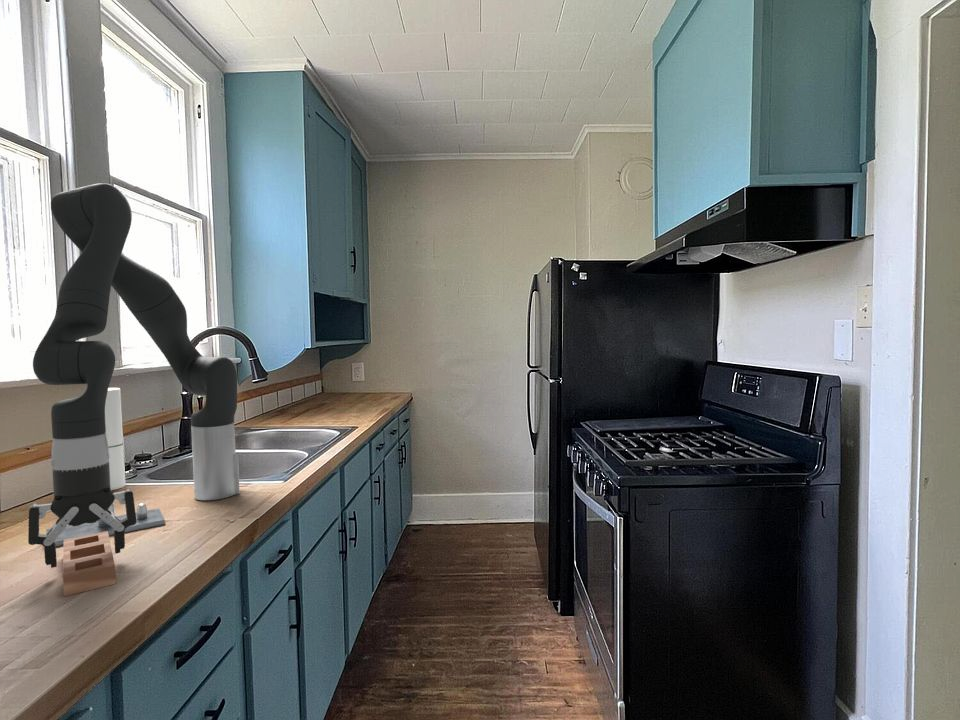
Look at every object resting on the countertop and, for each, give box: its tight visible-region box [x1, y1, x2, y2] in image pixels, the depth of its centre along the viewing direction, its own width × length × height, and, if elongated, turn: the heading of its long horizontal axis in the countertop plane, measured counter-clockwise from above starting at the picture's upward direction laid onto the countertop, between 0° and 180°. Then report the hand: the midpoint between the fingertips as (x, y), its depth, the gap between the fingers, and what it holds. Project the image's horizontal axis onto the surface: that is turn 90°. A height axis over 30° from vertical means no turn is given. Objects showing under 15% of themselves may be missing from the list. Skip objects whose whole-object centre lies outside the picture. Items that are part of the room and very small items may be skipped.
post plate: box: [45, 501, 166, 548], centre depth 107 cm, size 19×9×6 cm, turn 128°
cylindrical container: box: [105, 387, 126, 491], centre depth 135 cm, size 7×7×25 cm
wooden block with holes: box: [62, 531, 117, 597], centre depth 89 cm, size 18×6×3 cm, turn 38°
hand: (86, 558), depth 89 cm, fingers open, 8 cm apart
